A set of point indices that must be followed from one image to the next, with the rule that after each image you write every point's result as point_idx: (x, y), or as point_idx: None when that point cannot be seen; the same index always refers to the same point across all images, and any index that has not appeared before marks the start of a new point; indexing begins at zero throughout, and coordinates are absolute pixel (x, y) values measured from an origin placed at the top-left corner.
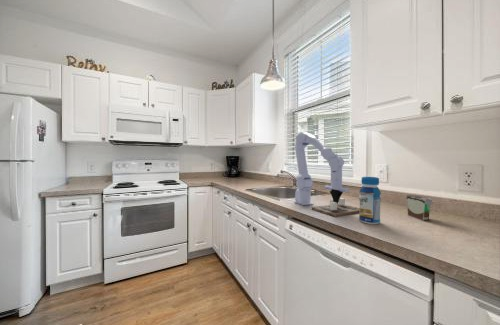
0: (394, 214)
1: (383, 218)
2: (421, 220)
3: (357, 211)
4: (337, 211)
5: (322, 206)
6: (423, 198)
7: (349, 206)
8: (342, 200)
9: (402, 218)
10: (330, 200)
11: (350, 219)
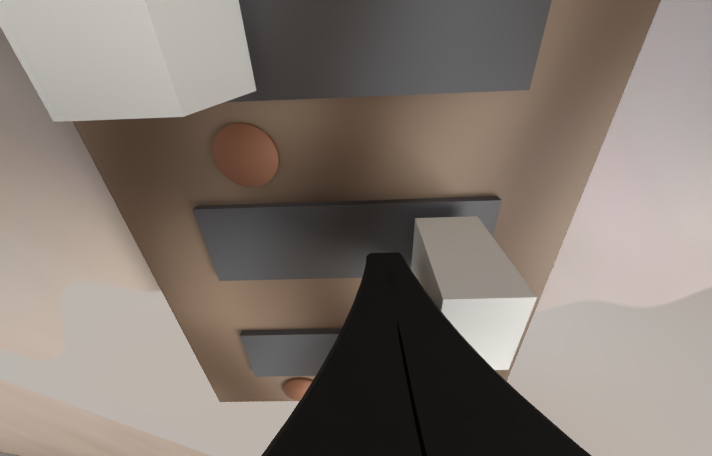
0: (139, 449)
1: (15, 353)
2: (2, 453)
3: (189, 329)
4: None
5: (574, 111)
6: None
7: None
8: None
9: (38, 425)
10: (504, 276)
11: None
